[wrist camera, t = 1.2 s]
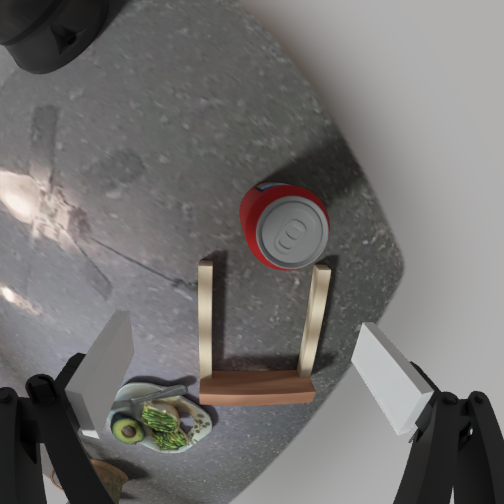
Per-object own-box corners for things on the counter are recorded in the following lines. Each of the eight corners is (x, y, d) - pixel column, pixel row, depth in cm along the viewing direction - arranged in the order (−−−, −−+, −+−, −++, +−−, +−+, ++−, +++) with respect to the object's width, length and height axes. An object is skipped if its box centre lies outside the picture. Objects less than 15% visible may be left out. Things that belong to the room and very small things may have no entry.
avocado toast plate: (139, 348, 35) (131, 368, 31) (238, 407, 40) (239, 428, 35) (91, 407, 38) (83, 425, 34) (173, 452, 43) (171, 470, 38)
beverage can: (309, 204, 32) (354, 223, 20) (275, 252, 33) (301, 294, 22) (262, 169, 30) (284, 166, 19) (226, 218, 31) (227, 245, 20)
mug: (72, 439, 40) (56, 479, 29) (136, 478, 45) (129, 517, 34) (56, 449, 42) (42, 483, 30) (114, 485, 46) (106, 519, 35)
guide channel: (200, 260, 32) (195, 275, 28) (325, 264, 34) (340, 279, 29) (201, 380, 37) (199, 404, 32) (304, 379, 39) (312, 401, 34)
